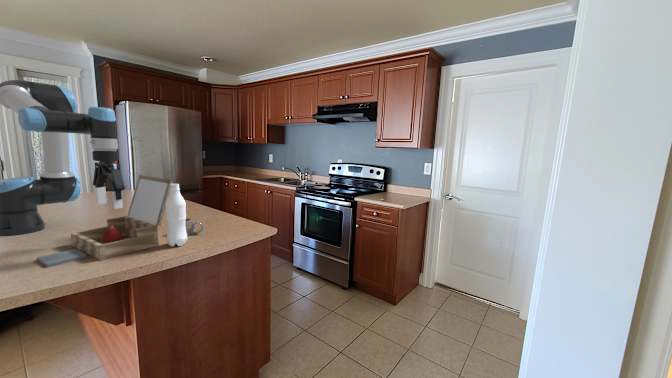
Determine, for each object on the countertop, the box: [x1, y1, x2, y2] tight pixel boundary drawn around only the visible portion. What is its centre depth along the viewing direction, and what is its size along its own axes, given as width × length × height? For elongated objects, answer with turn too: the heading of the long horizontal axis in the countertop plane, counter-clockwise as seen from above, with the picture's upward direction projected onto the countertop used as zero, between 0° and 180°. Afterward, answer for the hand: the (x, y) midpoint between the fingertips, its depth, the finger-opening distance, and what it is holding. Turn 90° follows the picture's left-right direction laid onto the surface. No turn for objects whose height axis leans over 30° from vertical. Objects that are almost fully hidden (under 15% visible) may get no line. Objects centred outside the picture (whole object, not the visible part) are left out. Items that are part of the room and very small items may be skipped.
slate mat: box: [36, 248, 88, 268], centre depth 95 cm, size 10×10×1 cm
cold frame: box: [70, 215, 159, 261], centre depth 109 cm, size 25×19×8 cm
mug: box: [185, 218, 204, 236], centre depth 126 cm, size 12×7×7 cm, turn 87°
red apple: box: [102, 226, 123, 244], centre depth 108 cm, size 6×6×8 cm
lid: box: [127, 174, 174, 227], centre depth 118 cm, size 25×19×1 cm
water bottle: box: [165, 183, 188, 247], centre depth 111 cm, size 7×7×25 cm
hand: (110, 205), depth 106 cm, fingers open, 13 cm apart
